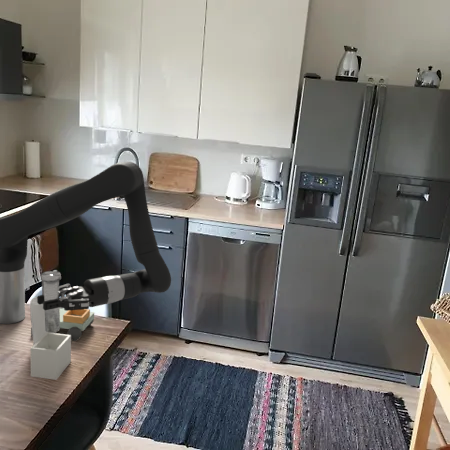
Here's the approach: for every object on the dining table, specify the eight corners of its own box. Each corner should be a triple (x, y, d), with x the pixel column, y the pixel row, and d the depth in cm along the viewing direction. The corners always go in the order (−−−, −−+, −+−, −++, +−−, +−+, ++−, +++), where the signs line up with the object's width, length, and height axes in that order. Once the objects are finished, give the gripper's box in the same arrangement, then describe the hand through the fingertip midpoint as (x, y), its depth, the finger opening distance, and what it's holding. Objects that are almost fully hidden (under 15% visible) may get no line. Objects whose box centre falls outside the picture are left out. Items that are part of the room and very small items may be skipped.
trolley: (39, 336, 139) (39, 280, 135) (56, 320, 150) (56, 268, 146) (81, 341, 138) (82, 285, 134) (95, 325, 149) (96, 273, 145)
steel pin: (39, 331, 119) (37, 275, 115) (51, 323, 123) (49, 270, 120) (54, 334, 118) (52, 278, 114) (65, 327, 122) (64, 273, 118)
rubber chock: (31, 336, 139) (31, 327, 138) (34, 333, 141) (34, 324, 140) (40, 337, 139) (40, 328, 138) (43, 334, 141) (43, 325, 140)
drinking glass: (47, 356, 129) (47, 306, 125) (25, 352, 130) (24, 302, 126) (60, 345, 135) (60, 297, 132) (39, 341, 136) (39, 293, 133)
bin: (30, 376, 119) (30, 348, 117) (46, 358, 128) (46, 332, 126) (56, 379, 118) (56, 351, 117) (70, 361, 127) (71, 335, 125)
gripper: (92, 270, 132) (30, 280, 121) (116, 286, 122) (50, 299, 111) (92, 294, 134) (31, 307, 123) (115, 312, 123) (50, 327, 112)
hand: (40, 303), depth 117 cm, fingers closed on steel pin, 3 cm apart
